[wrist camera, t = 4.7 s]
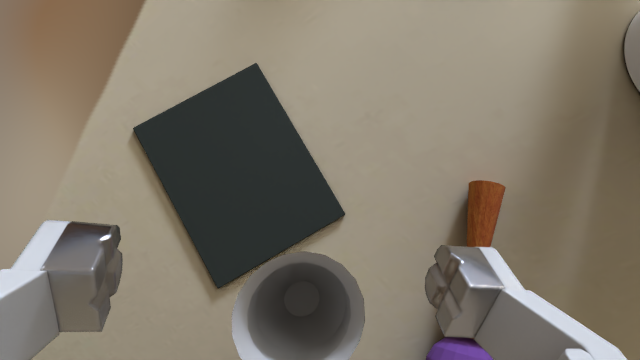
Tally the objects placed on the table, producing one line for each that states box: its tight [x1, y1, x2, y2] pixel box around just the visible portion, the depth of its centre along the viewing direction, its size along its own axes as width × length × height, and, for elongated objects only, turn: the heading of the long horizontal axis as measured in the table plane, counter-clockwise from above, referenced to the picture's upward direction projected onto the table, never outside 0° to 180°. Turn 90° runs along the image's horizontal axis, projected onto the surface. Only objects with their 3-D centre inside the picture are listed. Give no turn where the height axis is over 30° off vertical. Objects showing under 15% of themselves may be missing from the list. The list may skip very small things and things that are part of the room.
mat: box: [133, 63, 345, 288], centre depth 42 cm, size 18×14×1 cm
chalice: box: [232, 252, 365, 360], centre depth 32 cm, size 7×7×18 cm
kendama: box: [426, 181, 505, 360], centre depth 38 cm, size 6×6×20 cm
